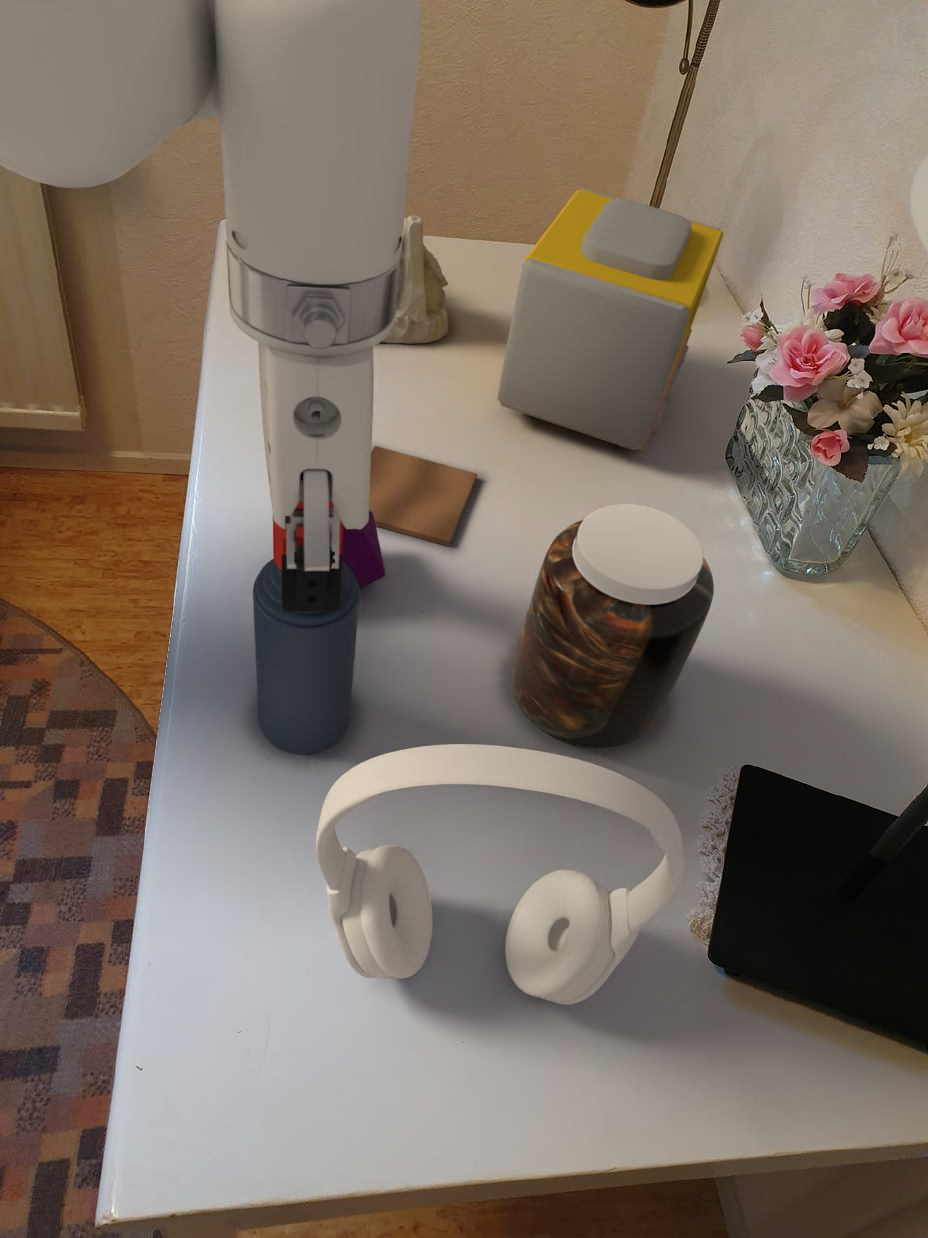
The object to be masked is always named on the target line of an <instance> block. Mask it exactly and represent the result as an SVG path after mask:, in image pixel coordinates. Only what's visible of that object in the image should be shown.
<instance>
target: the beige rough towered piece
mask: <svg viewBox="0 0 928 1238" xmlns="http://www.w3.org/2000/svg"><path fill="white" fill-rule="evenodd" d="M437 259H438V258H436V257H435V256H434V254H433V253H432V252H431V251H430V250H429V249H427V247H426V245H425V244H424V221H423V219H422V218H421V217H420V216H418V215H409V216H407V217H406V216H404V226H403V237H402V249H401V257H400V269H399V279H398V290H397V301H396V315H395V323H394V327H393V329H392V331H391V332H390V334H389V335H388V336H387V337H386V338H385V339H384V340H383V341H381V342H382V343H387V344H403V343H404V344H412V345H415V344H427V343H430V344H431V343H434V342H437V341H439V340H441V339H442V338H444V337H445V336H447V334H448V332H449V329H450V327H449V322H448V309H447V304H446V291H445V290H444V288H445V287H446V286H447V285H449V281H448V280H446V276H444V274H443V271H442V268H441V265H440V263H439V260H437Z"/></svg>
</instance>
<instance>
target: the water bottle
mask: <svg viewBox="0 0 928 1238" xmlns="http://www.w3.org/2000/svg"><path fill="white" fill-rule="evenodd" d="M360 592H361V589H360V590H359V585H358V582H357V580H356V578H355V576H354V574H353V573H352V571H351V570H350V568H349V567H348V566H347V565H346V564H345V563H344V562H342V573H341V590H340V606H339V608H338V609H337V610H335V611H300V612H287V611H285V610H283V608H282V571H281V570H280V569H279V567H278V566H277V565H276V563H275V561H274V559H273V558H272V559H270V560H269V561H267V563H265V565H263V567H262V568H261V569H260V571H259V573H258V574H257V576H256V578H255V579H254V582H253V586H252V604H253V606H252V607H253V628H254V629H253V630H254V652H255V653H254V654H255V676H256V677H255V679H256V699H257V721H258V722H257V723H258V726H259V729H260V732H261V733H262V735H263V737H264V738H265V739H266V740H267V741H268V742H269V743H270V744H271V745H273V746H274V747H276V748H278V749H280V750H282V751H284V752H287V753H291V754H297V755H308V754H309V755H310V754H311V755H312V754H317V753H320V752H323V751H325V750H327V749H330V748H331V747H332V746H334V745H335V744H338V742H339V741H340V740H341V739H342V738H343V737H344V735H345V734H346V732H347V730H348V728H349V725H350V719H351V710H352V709H351V708H352V697H353V685H354V684H353V683H354V673H355V672H354V671H355V670H354V669H355V660H356V647H357V634H358V633H357V632H358V620H359V609H360V608H359V607H360V597H361V595H360Z"/></svg>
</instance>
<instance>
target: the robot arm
mask: <svg viewBox="0 0 928 1238" xmlns="http://www.w3.org/2000/svg"><path fill="white" fill-rule="evenodd" d="M421 31H422V11H421V5H420V2H419V0H0V167H3V168H5V169H7V170H8V171H11V172H13V173H16V174H18V175H19V176H21V177H24V178H26V179H29V180H31V181H33V182H36V183H41V184H43V185H44V184H45V185H49V186H52V187H56V188H62V189H63V188H64V189H87V188H93V187H97V186H100V185H104V184H108V183H110V182H113V181H116V180H117V179H118V178H121V177H122V176H124V175H126V174H127V173H128V172H130V171H131V170H132V169H133V168H135V167H136V166H138V165H139V164H140V163H142V162H143V161H144V160H145V159H146V158H147V157H148V156H149V155H151V154H152V153H153V152H154V151H155V150H156V149H157V148H159V147H160V146H161V145H162V144H163V143H164V142H165V141H166V140H167V139H168V138H170V136H172V135H173V134H174V133H175V132H176V131H177V130H178V129H179V128H182V127H184V126H185V127H186V126H188V125H190V124H193V123H196V122H199V121H202V120H205V119H208V118H213V119H215V120H216V121H217V122H219V125H220V126H219V127H220V144H221V145H220V146H221V149H220V150H221V164H222V183H223V198H224V200H223V201H224V202H223V203H224V219H225V234H226V241H225V242H226V243H225V244H226V264H227V279H228V280H227V281H228V298H229V312H230V313H229V314H230V315H231V318H232V320H233V322H234V323H235V325H236V326H237V328H238V329H239V330H241V331H242V332H243V334H245V335H246V336H248V337H249V338H251V339H252V340H254V341H255V342H257V347H258V348H257V349H258V371H259V389H260V405H261V406H260V408H261V409H260V410H261V422H262V423H261V424H262V434H263V435H262V436H263V443H264V444H263V445H264V454H265V455H264V456H265V463H266V472H267V479H268V480H267V481H268V487H269V495H270V496H269V497H270V504H271V510H272V519H273V518H274V521H275V523H276V524H277V525H278V526H280V527H281V528H283V529H285V525H286V555H282V608H283V610H285V611H287V612H300V611H335V610H337V609H338V608H339V606H340V590H341V573H342V554H339V547H340V521H342V523H343V525H344V526H345V528H346V529H357V530H358V529H362V528H363V527H364V526H365V525H366V524H367V523H368V521H369V490H370V467H371V452H372V444H373V423H374V422H373V421H374V392H375V391H374V385H375V383H374V380H375V377H374V376H375V374H374V371H375V370H374V366H375V365H374V362H375V361H374V347H376V346H377V345H379V344H380V343H381V342H382V341H383V340H384V339H385V338H386V337H387V336H388V335H389V334H390V332H391V331H392V329H393V327H394V323H395V315H396V301H397V290H398V279H399V269H400V257H401V249H402V237H403V226H404V217H405V214H406V201H407V193H408V191H407V190H408V178H409V167H410V158H411V146H412V135H413V126H414V115H415V114H414V113H415V104H416V94H417V82H418V74H419V73H418V71H419V63H420V62H419V61H420V50H421V35H422V32H421ZM299 502H303V508H296V506H297V505H298V503H299ZM329 502H332V508H329ZM297 527H303V546H297Z"/></svg>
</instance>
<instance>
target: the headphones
mask: <svg viewBox="0 0 928 1238" xmlns="http://www.w3.org/2000/svg"><path fill="white" fill-rule="evenodd" d="M434 785H436V786H437V785H477V786H478V785H479V786H480V785H481V786H493V787H503V788H513V789H520V790H526V791H535V792H538V793H539V792H540V793H545V794H551V795H556V796H560V797H561V796H562V797H565V798H569V799H575V800H578V801H582V802H585V803H589V804H592V805H596V806H598V807H602V808H605V809H607V810H609V811H612V812H614V813H618V814H619V815H622V816H625V817H626V818H629V819H631V820H632V821H634V822H636V823H639V824H640V825H642V826H644V827H645V828H646V829H647V830H648V832H649V834H650V836H651V837H652V839H653V840H654V841H655V843H656V844H657V845H658V847H660V848H661V850H662V852H664V856H663V858H662V860H661V862H660V863H659V865H658V866H657V867H656V869H655V870H653V872H652V873H651V874H649V876H648V877H647V878H645V879H644V880H643V881H642V882H641V883H640V882H639V884H638V885H636V886H635V887H634V888H630V887H628V886H627V887H619V888H616V889H614V890H612V891H611V890H609V889H608V888H606V887H604V886H603V885H602V884H600V883H599V882H597V881H594V879H593V878H592V877H590V876H589V875H587V874H585V873H583V872H580V871H577V870H574V869H558V870H554V871H552V872H549V873H547V874H545V875H543V876H542V877H540V878H539V879H537V880H536V881H535V882H534V883H533V884H532V885H531V886H530V887H529V888H528V890H527V891H526V892H525V893H524V894H523V896H522V897H521V898H520V900H519V902H518V903H517V906H516V907H515V909H514V910H513V911H514V912H513V913H512V916H511V919H510V921H509V924H508V928H507V933H506V939H505V949H504V950H505V961H506V962H505V963H506V967H507V970H508V973H509V976H510V978H511V980H512V981H513V982H514V984H515V986H516V987H517V988H518V989H519V990H521V991H522V992H523V993H525V994H527V995H529V996H532V997H535V998H541V999H543V1000H545V1001H549V1002H554V1003H556V1004H560V1005H574V1004H578V1003H580V1002H583V1001H584V1000H586V999H588V998H590V997H591V996H592V995H593V994H594V993H596V992H597V991H598V990H599V989H600V988H601V987H602V986H603V985H604V983H605V982H606V981H607V980H608V978H609V977H610V976H611V974H612V973H613V972H614V970H615V969H616V967H617V966H618V965H619V964H620V963H621V962H622V960H623V959H624V958H625V957H626V955H627V954H628V952H629V951H630V949H631V948H632V947H633V944H634V943H635V941H636V940H637V938H638V937H639V932H640V930H642V929H643V928H644V927H646V926H647V925H648V924H650V923H651V922H652V921H654V920H655V919H656V918H658V917H659V916H660V915H662V914H663V912H665V911H666V910H667V909H668V908H669V906H670V905H672V904H673V902H674V901H675V899H676V897H677V896H678V894H679V892H680V890H681V888H682V884H683V881H684V875H685V874H684V873H685V857H684V847H683V840H682V839H683V838H682V833H681V829H680V826H679V824H678V821H677V819H676V817H675V815H674V813H673V812H672V811H671V809H670V808H669V806H668V805H666V803H665V802H664V801H663V800H662V799H661V798H660V797H658V796H657V795H656V794H655V793H654V792H652V791H650V790H649V789H648V788H646V787H645V786H644V785H642V784H640V783H638V782H636V781H635V780H633V779H631V778H629V777H627V776H625V775H623V774H621V773H618V772H616V771H613V770H612V769H608V768H606V767H603V766H600V765H598V764H595V763H592V762H588V761H585V760H582V759H578V758H574V757H571V756H566V755H561V754H557V753H552V752H547V751H541V750H534V749H527V748H521V747H513V746H504V745H494V744H480V743H479V744H475V743H454V744H453V743H452V744H451V743H450V744H446V743H445V744H433V745H423V746H417V747H410V748H406V749H399V750H394V751H391V752H387V753H383V754H380V755H377V756H374V757H371V758H369V759H367V760H363V761H362V762H360V763H358V764H356V765H355V766H353V767H351V768H350V769H348V770H347V771H346V772H345V773H344V774H342V775H341V776H340V777H339V778H338V779H336V781H335V782H334V783H333V785H332V786H331V787H330V789H329V790H328V792H327V794H326V797H325V799H324V802H323V804H322V808H321V812H320V815H319V819H318V826H317V830H316V838H315V853H316V854H315V855H316V860H317V864H318V867H319V869H320V872H321V875H322V876H323V878H324V881H325V883H326V895H327V904H328V910H329V915H330V919H331V922H332V925H333V929H334V931H335V935H336V938H337V941H338V944H339V946H340V949H341V951H342V953H343V956H344V958H345V960H346V961H347V963H348V964H349V966H350V968H352V969H353V970H354V971H355V972H356V973H357V974H358V975H360V976H361V977H364V978H366V979H375V978H377V979H389V978H396V979H406V978H410V977H412V976H413V975H415V974H417V972H419V970H420V969H421V968H422V966H423V965H424V963H425V961H426V959H427V957H428V954H429V951H430V946H431V942H432V937H433V907H432V900H431V895H430V894H431V893H430V890H429V886H428V882H427V880H426V877H425V873H424V872H423V870H422V867H421V865H420V864H419V862H418V860H417V859H416V858H415V856H414V855H413V854H412V853H411V852H410V851H409V850H408V849H406V847H405V848H404V847H403V846H401V845H397V844H385V845H381V846H377V847H376V848H369V849H365V850H363V851H357V852H354V851H353V850H352V849H350V848H348V847H342V845H341V842H340V840H339V838H338V835H337V832H336V826H337V825H338V823H339V822H340V821H342V819H344V818H345V817H346V816H347V815H348V814H350V813H351V812H353V811H354V810H356V809H358V808H360V807H362V806H364V805H367V804H369V803H372V802H373V801H375V800H377V799H378V798H379V797H380V796H381V795H383V793H385V792H391V791H393V790H394V791H395V790H399V789H407V788H413V787H421V786H434Z"/></svg>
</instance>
